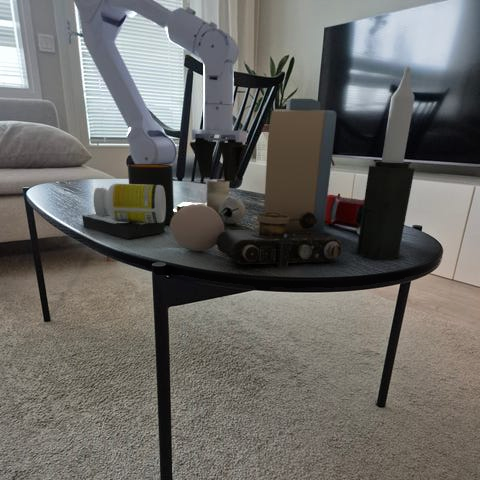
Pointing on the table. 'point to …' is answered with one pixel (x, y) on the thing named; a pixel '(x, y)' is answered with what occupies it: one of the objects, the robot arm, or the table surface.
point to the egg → (196, 227)
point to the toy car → (344, 211)
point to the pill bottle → (131, 203)
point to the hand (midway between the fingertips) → (217, 179)
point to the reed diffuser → (232, 211)
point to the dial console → (194, 204)
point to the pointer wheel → (216, 192)
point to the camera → (279, 242)
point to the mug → (155, 181)
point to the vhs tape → (122, 226)
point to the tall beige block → (299, 161)
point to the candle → (389, 183)
